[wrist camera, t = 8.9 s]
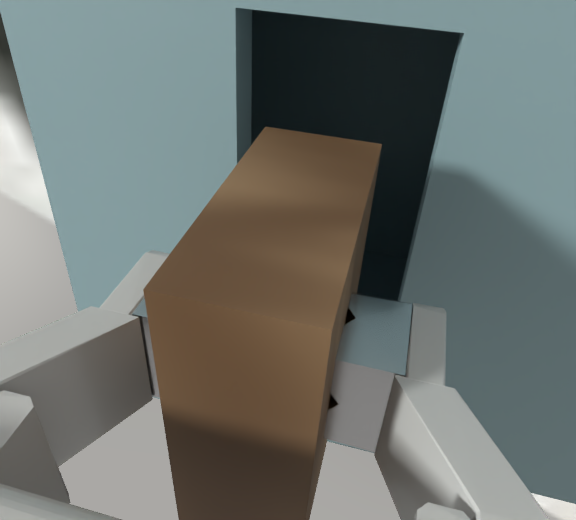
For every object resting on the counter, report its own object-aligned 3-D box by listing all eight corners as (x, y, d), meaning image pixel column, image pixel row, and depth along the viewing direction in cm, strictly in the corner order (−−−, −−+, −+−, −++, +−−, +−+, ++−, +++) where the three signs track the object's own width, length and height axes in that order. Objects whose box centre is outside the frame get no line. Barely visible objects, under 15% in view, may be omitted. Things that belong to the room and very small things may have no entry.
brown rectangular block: (382, 143, 9) (332, 329, 5) (346, 353, 12) (300, 560, 8) (265, 126, 9) (143, 289, 5) (260, 334, 12) (179, 524, 8)
